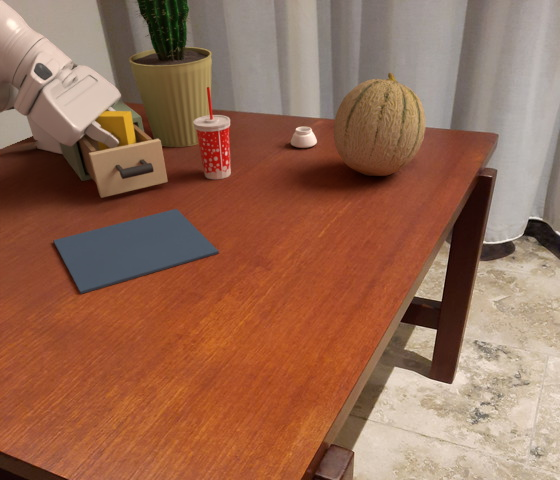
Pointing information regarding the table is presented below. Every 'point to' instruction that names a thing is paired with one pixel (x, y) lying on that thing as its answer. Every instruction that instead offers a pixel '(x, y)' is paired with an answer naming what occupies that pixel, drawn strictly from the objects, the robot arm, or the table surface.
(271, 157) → the table surface
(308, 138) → the white jar
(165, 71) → the potted cactus
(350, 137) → the cantaloupe
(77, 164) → the cabinet
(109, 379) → the table surface
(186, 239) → the mat
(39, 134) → the container
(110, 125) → the sponge
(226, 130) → the beverage cup
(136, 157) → the drawer
